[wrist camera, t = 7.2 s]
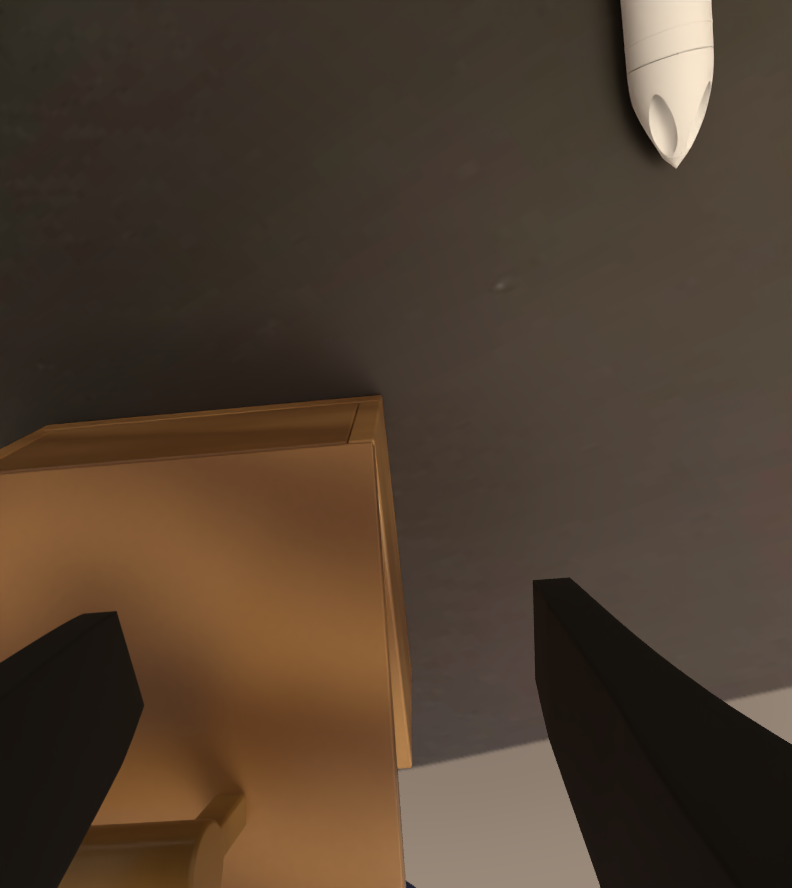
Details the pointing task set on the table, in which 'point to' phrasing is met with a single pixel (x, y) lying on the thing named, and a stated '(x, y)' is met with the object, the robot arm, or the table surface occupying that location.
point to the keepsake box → (245, 435)
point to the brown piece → (226, 661)
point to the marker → (669, 69)
